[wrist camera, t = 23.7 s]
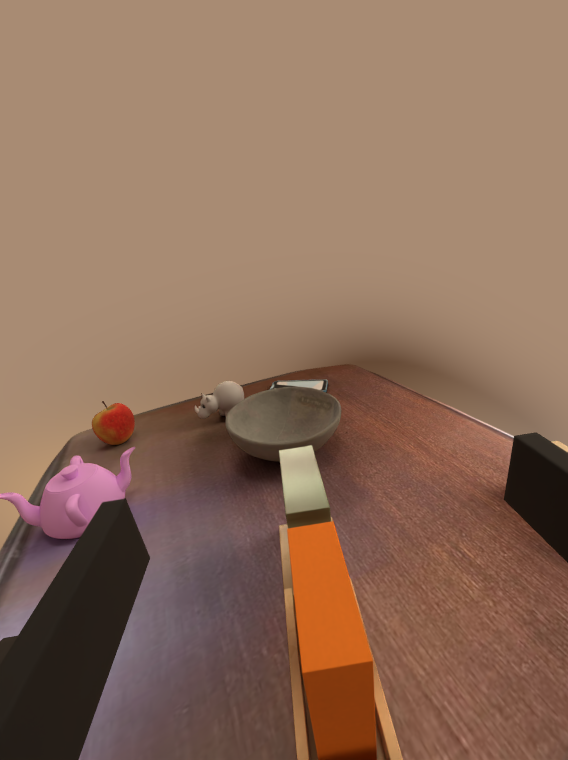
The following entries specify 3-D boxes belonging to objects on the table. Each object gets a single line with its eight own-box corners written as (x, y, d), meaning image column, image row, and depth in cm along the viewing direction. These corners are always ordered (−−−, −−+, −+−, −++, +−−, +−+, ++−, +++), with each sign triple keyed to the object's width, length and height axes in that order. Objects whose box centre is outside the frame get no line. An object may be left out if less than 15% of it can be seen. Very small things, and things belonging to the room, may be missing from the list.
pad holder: (410, 799, 21) (415, 692, 16) (302, 818, 21) (275, 716, 16) (332, 521, 43) (324, 440, 38) (279, 529, 43) (265, 450, 38)
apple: (122, 452, 66) (106, 410, 62) (92, 450, 69) (75, 409, 65) (147, 432, 73) (134, 393, 70) (119, 430, 76) (105, 392, 72)
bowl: (284, 410, 74) (280, 379, 72) (365, 434, 61) (363, 397, 58) (211, 457, 60) (202, 420, 57) (295, 502, 47) (289, 457, 44)
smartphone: (326, 390, 80) (268, 391, 83) (326, 394, 80) (268, 395, 83) (327, 379, 86) (274, 380, 89) (328, 382, 87) (274, 383, 90)
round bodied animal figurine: (194, 422, 74) (185, 390, 71) (239, 405, 80) (232, 374, 77) (205, 434, 69) (196, 399, 66) (253, 414, 75) (246, 381, 71)
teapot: (21, 542, 46) (-7, 495, 43) (99, 479, 58) (81, 439, 55) (80, 558, 42) (53, 507, 39) (150, 487, 54) (134, 444, 51)
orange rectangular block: (377, 762, 22) (373, 661, 18) (320, 773, 22) (302, 673, 17) (341, 612, 31) (333, 520, 27) (302, 618, 31) (286, 528, 27)
